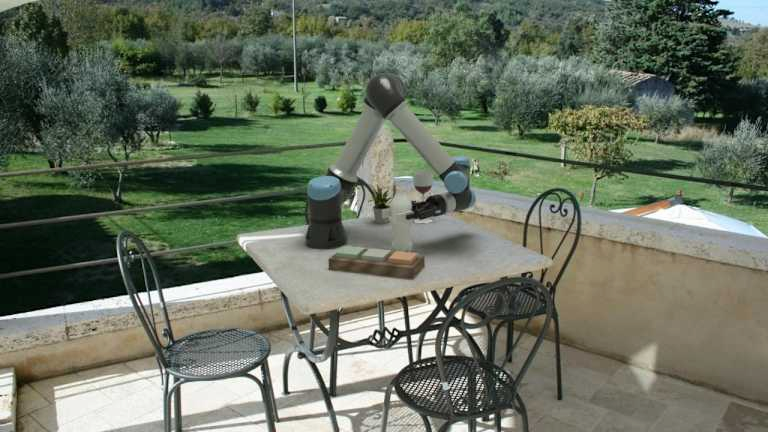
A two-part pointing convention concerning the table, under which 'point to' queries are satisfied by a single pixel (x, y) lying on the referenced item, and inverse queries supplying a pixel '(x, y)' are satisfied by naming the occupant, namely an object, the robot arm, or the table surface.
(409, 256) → the orange square block
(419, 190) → the wineglass
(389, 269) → the keypad
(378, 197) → the house plant
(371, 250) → the key middle
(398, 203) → the water bottle
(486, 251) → the table surface
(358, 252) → the key sage
